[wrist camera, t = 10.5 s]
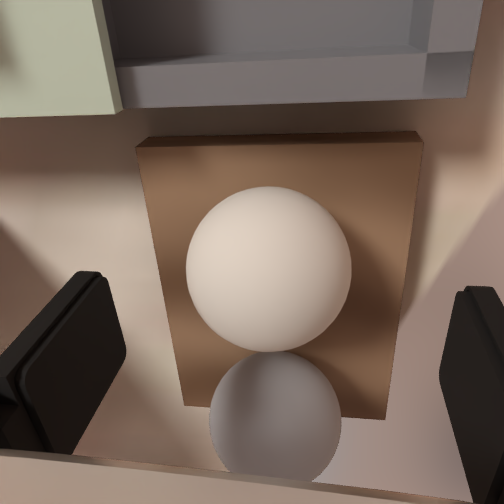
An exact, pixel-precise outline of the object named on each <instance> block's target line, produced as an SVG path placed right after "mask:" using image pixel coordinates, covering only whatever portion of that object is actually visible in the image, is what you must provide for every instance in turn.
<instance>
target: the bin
mask: <svg viewBox="0 0 504 504" xmlns="http://www.w3.org/2000/svg"><path fill="white" fill-rule="evenodd" d="M102 5H103V10H104V15H105V20H106V26H107V31H108V36H109V41H110V46H111V51H112V56H113V61H114V66H115V71H116V77H117V82H118V87H119V92H120V97H121V102H122V107H123V109H128V108H160V107H192V106H223V105H255V104H286V103H318V102H349V101H381V100H413V99H444V98H466V95H467V89H468V83H469V78H470V72H471V67H472V61H473V55H474V50H475V44H476V39H477V33H478V27H479V22H480V16H481V11H482V5H483V0H102Z"/></svg>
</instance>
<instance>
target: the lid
mask: <svg viewBox="0 0 504 504" xmlns="http://www.w3.org/2000/svg"><path fill="white" fill-rule="evenodd" d="M122 110H123V107H122V102H121V97H120V92H119V87H118V82H117V77H116V71H115V66H114V61H113V56H112V51H111V46H110V41H109V36H108V31H107V26H106V20H105V15H104V10H103V5H102V0H0V118H3V117H37V116H70V115H104V114H116V113H118V112H120V111H122Z"/></svg>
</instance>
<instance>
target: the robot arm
mask: <svg viewBox="0 0 504 504" xmlns="http://www.w3.org/2000/svg"><path fill="white" fill-rule="evenodd" d="M125 357H126V345H125V342H124V338H123V334H122V331H121V327H120V323H119V320H118V316H117V312H116V309H115V305H114V301H113V298H112V294H111V290H110V287H109V283H108V280H107V279H106V278H105V277H102V275H101V273H100V272H92V271H78V272H77V273H75V274H74V275H73V277H72V278H71V279H70V280H69V281H68V282H67V283H66V284H65V285H64V286H63V288H62V289H61V290H60V291H59V292H58V293H57V294H56V295H55V296H54V297H53V298H52V300H51V301H50V302H49V303H48V304H47V305H46V306H45V307H44V308H43V309H42V311H41V312H40V313H39V314H38V315H37V316H36V317H35V318H34V319H33V320H32V322H31V323H30V324H29V325H28V326H27V327H26V328H25V329H24V330H23V331H22V332H21V334H20V335H19V336H18V337H17V338H16V339H15V340H14V341H13V342H12V343H11V345H10V346H9V347H8V348H7V349H6V350H5V351H4V352H3V353H2V354H1V356H0V504H504V306H503V304H502V302H501V300H500V298H499V297H498V295H497V293H496V291H495V290H494V288H493V287H486V286H466V288H465V289H464V291H458V292H457V293H456V296H455V301H454V306H453V310H452V314H451V319H450V324H449V328H448V333H447V337H446V342H445V346H444V351H443V355H442V360H441V364H440V370H439V380H440V385H441V389H442V392H443V396H444V399H445V403H446V407H447V410H448V414H449V417H450V421H451V424H452V428H453V432H454V435H455V439H456V442H457V446H458V449H459V453H460V457H461V460H462V463H463V467H464V470H465V474H466V478H467V481H468V485H469V488H470V492H471V496H472V499H473V503H470V502H464V501H459V500H452V499H444V498H436V497H429V496H422V495H415V494H407V493H400V492H392V491H385V490H377V489H368V488H360V487H351V486H343V485H334V484H326V483H318V482H309V481H301V480H292V479H284V478H275V477H267V476H258V475H249V474H240V473H232V472H223V471H214V470H205V469H196V468H187V467H178V466H169V465H160V464H151V463H142V462H133V461H123V460H114V459H105V458H95V457H86V456H77V455H72V453H73V451H74V449H75V448H76V446H77V444H78V442H79V440H80V439H81V437H82V435H83V433H84V432H85V430H86V428H87V426H88V424H89V423H90V421H91V419H92V417H93V416H94V414H95V412H96V410H97V408H98V407H99V405H100V403H101V401H102V400H103V398H104V396H105V394H106V392H107V391H108V389H109V387H110V385H111V384H112V382H113V380H114V378H115V376H116V375H117V373H118V371H119V369H120V368H121V366H122V364H123V362H124V360H125Z"/></svg>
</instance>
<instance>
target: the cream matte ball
mask: <svg viewBox="0 0 504 504" xmlns="http://www.w3.org/2000/svg"><path fill="white" fill-rule="evenodd" d="M186 277H187V285H188V289H189V293H190V296H191V298H192V301H193V304H194V306H195V308H196V310H197V311H198V313H199V314H200V316H201V317H202V319H203V320H204V321H205V323H206V324H207V325H208V326H209V327H210V328H211V329H212V330H213V331H214V332H215V333H217V334H218V335H219V336H221V337H222V338H224V339H225V340H227V341H229V342H231V343H232V344H234V345H237V346H239V347H242V348H245V349H248V350H253V351H260V352H277V351H285V350H289V349H293V348H296V347H299V346H301V345H303V344H306V343H307V342H309V341H311V340H312V339H314V338H316V337H317V336H319V335H320V334H321V333H322V332H324V331H325V330H326V329H327V327H328V326H329V325H330V324H331V323H332V322H333V321H334V320H335V318H336V317H337V315H338V314H339V312H340V311H341V309H342V307H343V305H344V303H345V301H346V298H347V295H348V291H349V288H350V282H351V257H350V251H349V247H348V244H347V241H346V238H345V236H344V234H343V232H342V230H341V228H340V226H339V225H338V223H337V222H336V220H335V219H334V218H333V216H332V215H331V214H330V213H329V212H328V211H327V210H326V209H325V208H324V207H323V206H321V205H320V204H319V203H318V202H316V201H315V200H313V199H311V198H310V197H308V196H306V195H304V194H302V193H300V192H297V191H294V190H291V189H287V188H282V187H271V186H266V187H256V188H251V189H246V190H243V191H240V192H237V193H235V194H233V195H231V196H229V197H227V198H226V199H224V200H223V201H221V202H220V203H218V204H217V205H216V206H215V207H214V208H213V209H211V210H210V211H209V212H208V213H207V215H206V216H205V217H204V218H203V220H202V221H201V222H200V224H199V225H198V227H197V229H196V230H195V232H194V235H193V237H192V240H191V242H190V245H189V249H188V253H187V260H186Z"/></svg>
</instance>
